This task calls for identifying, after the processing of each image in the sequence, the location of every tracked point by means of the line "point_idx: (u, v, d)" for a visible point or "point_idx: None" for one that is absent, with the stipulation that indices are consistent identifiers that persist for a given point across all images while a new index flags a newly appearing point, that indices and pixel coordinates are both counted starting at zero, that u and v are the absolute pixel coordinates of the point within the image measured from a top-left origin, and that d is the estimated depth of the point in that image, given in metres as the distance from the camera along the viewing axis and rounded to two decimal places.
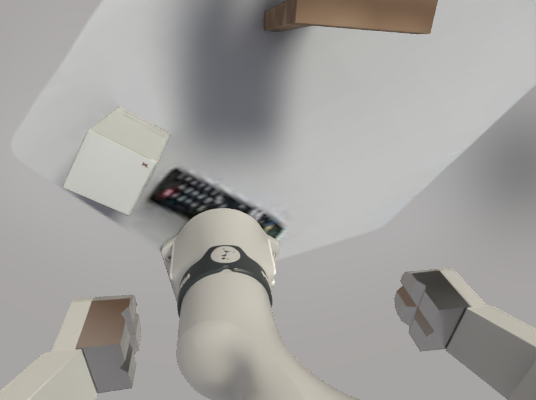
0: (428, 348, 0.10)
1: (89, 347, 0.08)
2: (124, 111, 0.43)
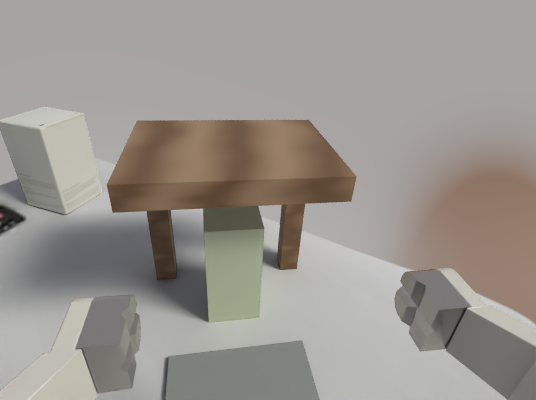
0: (428, 348, 0.10)
1: (89, 347, 0.08)
2: (97, 187, 0.52)
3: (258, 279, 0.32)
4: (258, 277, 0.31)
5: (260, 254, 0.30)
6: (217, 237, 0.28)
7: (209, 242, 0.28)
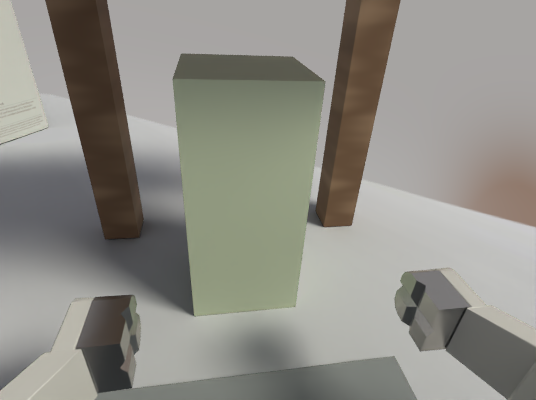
0: (428, 348, 0.10)
1: (89, 347, 0.08)
2: (38, 118, 0.35)
3: (300, 222, 0.14)
4: (300, 217, 0.14)
5: (310, 157, 0.13)
6: (207, 97, 0.11)
7: (188, 111, 0.11)
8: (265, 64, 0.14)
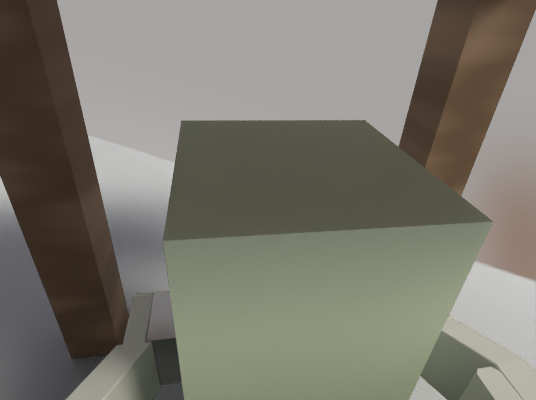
0: None
1: (158, 340, 0.08)
2: None
3: None
4: None
5: (429, 338, 0.07)
6: (242, 268, 0.05)
7: (198, 294, 0.05)
8: (335, 150, 0.08)
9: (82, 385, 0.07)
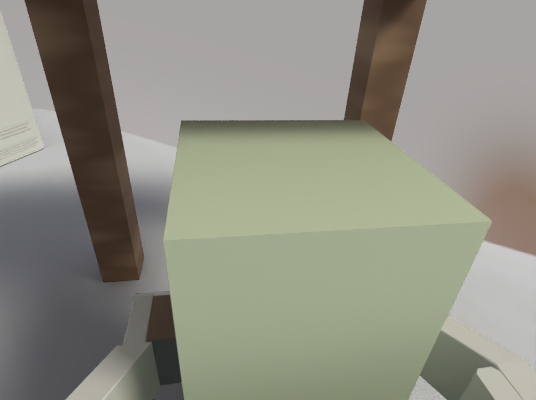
0: None
1: (158, 340, 0.08)
2: (34, 139, 0.34)
3: None
4: None
5: (428, 337, 0.07)
6: (242, 267, 0.05)
7: (198, 293, 0.05)
8: (334, 150, 0.08)
9: (82, 385, 0.07)
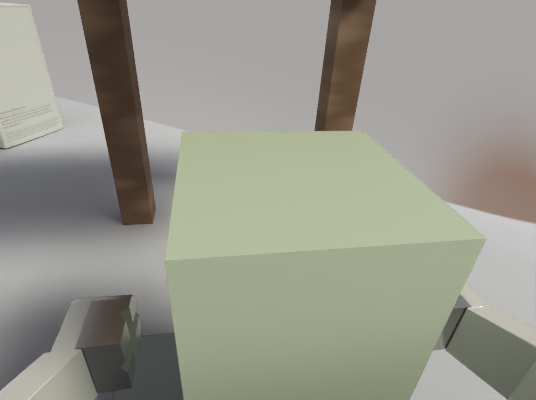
0: None
1: (89, 347, 0.08)
2: (55, 120, 0.38)
3: None
4: None
5: (425, 349, 0.07)
6: (242, 284, 0.05)
7: (199, 309, 0.05)
8: (333, 163, 0.08)
9: (0, 395, 0.07)
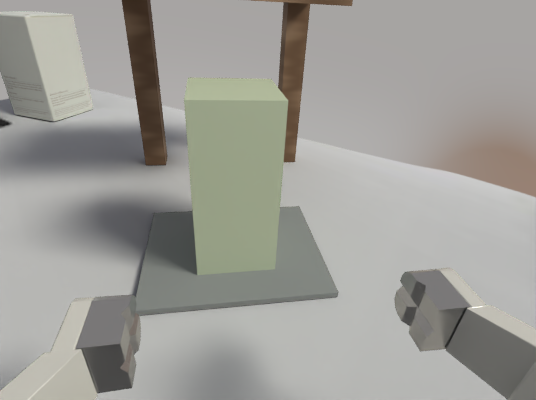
0: (428, 347, 0.10)
1: (89, 347, 0.08)
2: (87, 102, 0.50)
3: (275, 201, 0.20)
4: (275, 197, 0.20)
5: (280, 153, 0.18)
6: (207, 112, 0.16)
7: (194, 121, 0.17)
8: (249, 86, 0.19)
9: None
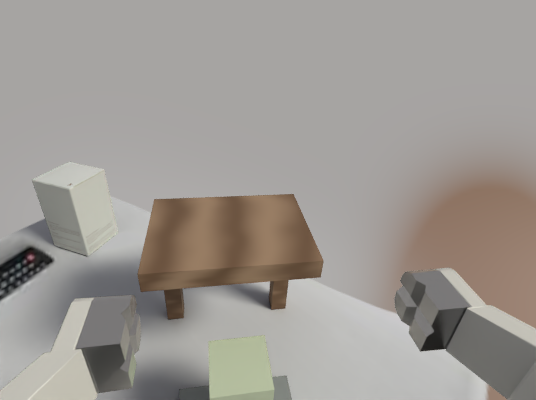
0: (428, 347, 0.10)
1: (89, 347, 0.08)
2: (114, 229, 0.60)
3: None
4: None
5: None
6: None
7: None
8: (249, 358, 0.29)
9: (0, 395, 0.07)
